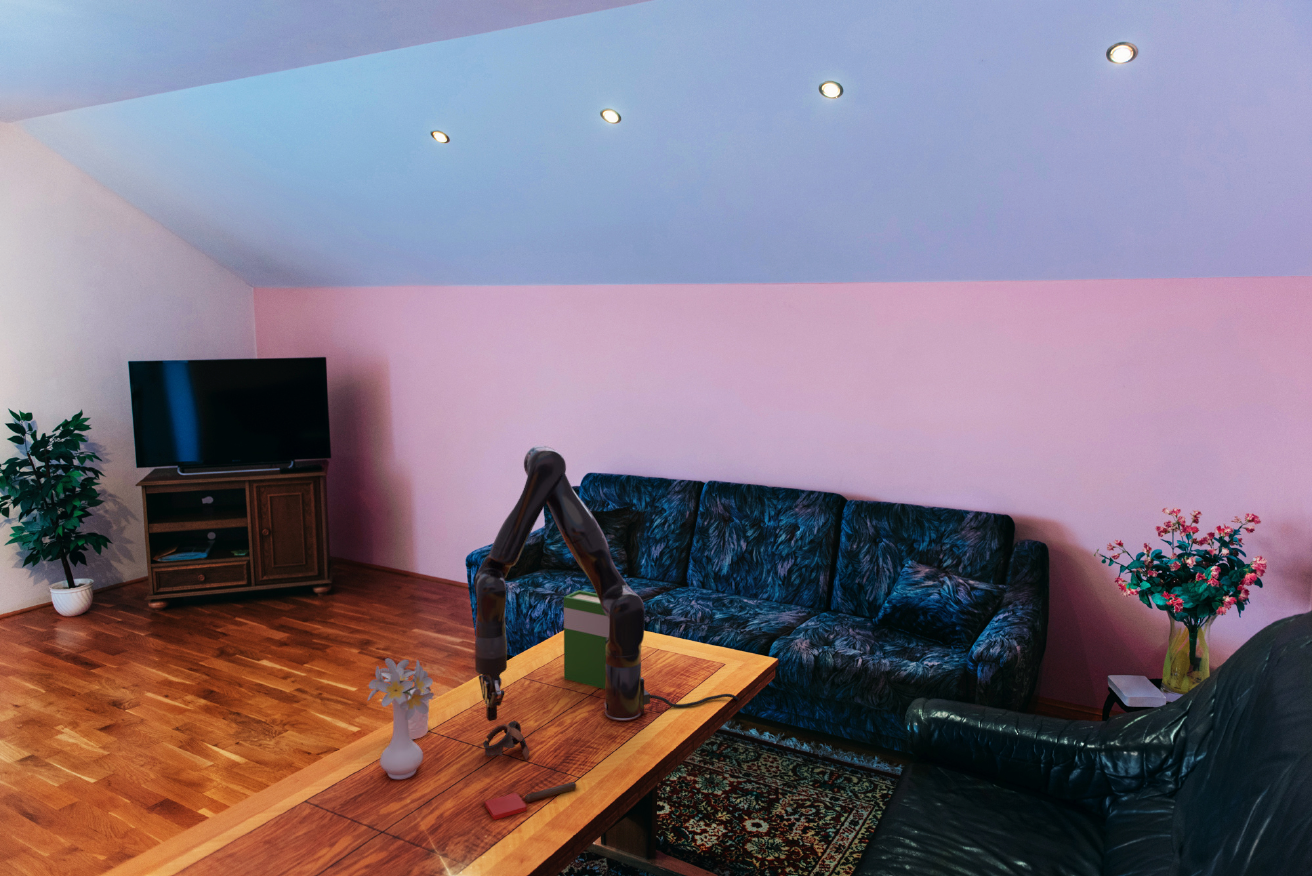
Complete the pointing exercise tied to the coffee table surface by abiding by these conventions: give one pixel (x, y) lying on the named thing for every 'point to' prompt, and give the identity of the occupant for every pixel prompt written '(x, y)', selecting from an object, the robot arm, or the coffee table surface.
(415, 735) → the white cup
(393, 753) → the flower vase
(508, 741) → the dark brown curved piece
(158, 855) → the coffee table surface
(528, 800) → the spatula
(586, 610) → the hardback book
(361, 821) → the coffee table surface
